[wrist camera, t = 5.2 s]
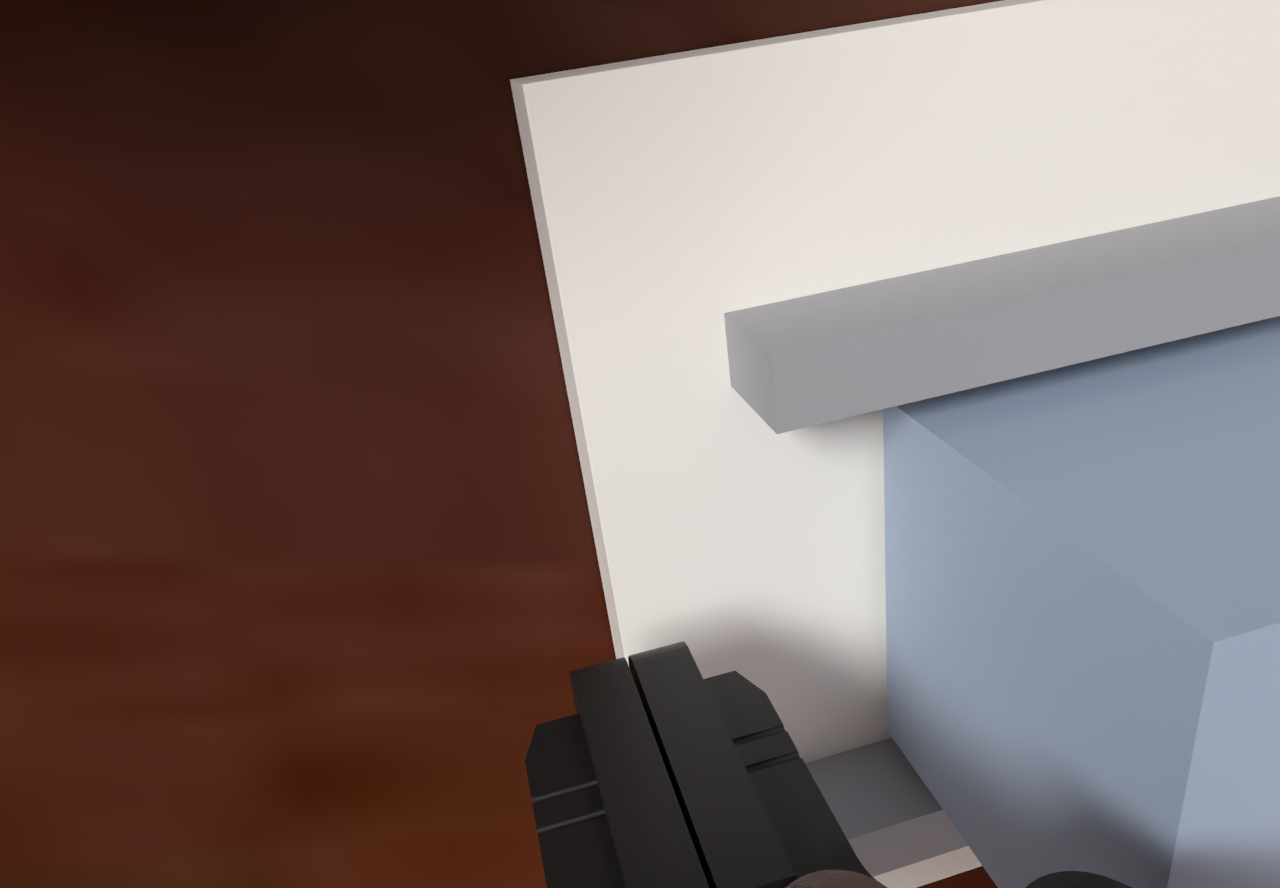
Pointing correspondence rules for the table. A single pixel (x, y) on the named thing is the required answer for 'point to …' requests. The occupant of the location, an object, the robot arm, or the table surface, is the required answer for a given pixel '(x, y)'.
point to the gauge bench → (870, 307)
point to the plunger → (1096, 612)
